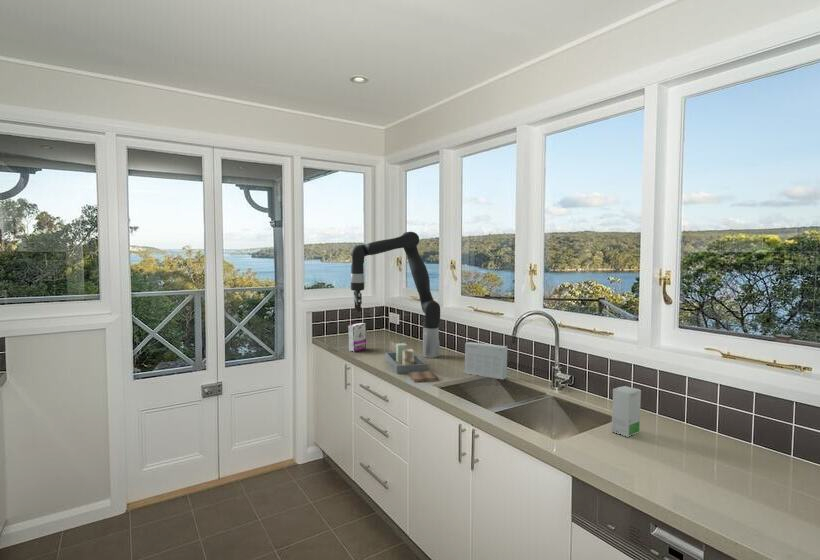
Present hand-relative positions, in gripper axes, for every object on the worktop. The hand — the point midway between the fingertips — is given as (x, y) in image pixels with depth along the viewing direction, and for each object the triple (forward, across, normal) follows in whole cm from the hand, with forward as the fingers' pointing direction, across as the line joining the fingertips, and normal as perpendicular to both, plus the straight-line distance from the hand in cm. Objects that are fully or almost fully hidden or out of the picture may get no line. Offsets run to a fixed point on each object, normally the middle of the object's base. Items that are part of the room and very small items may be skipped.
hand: (357, 310), depth 257 cm
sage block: (+29, -8, -23) cm, 38 cm away
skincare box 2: (+30, -121, -78) cm, 147 cm away
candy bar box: (+29, +26, -3) cm, 39 cm away
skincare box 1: (+30, -43, -59) cm, 79 cm away
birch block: (+29, -23, -23) cm, 44 cm away
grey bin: (+29, -16, -23) cm, 40 cm away
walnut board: (+29, -41, -26) cm, 56 cm away
